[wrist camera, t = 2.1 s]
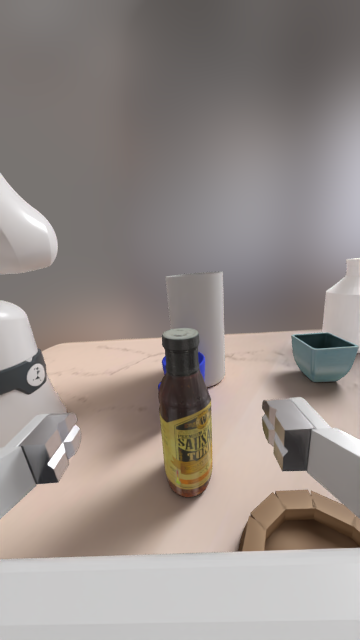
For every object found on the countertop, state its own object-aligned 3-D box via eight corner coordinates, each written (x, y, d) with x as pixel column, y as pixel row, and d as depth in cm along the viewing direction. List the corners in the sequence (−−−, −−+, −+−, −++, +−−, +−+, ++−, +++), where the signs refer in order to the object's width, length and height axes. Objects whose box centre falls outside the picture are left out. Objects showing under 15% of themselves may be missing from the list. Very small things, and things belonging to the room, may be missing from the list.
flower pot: (287, 367, 48) (290, 334, 45) (324, 365, 47) (328, 331, 45) (309, 388, 39) (313, 349, 37) (353, 386, 39) (360, 346, 36)
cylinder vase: (233, 384, 43) (232, 272, 36) (179, 393, 41) (167, 278, 35) (215, 359, 55) (212, 271, 48) (173, 366, 53) (164, 276, 47)
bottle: (318, 336, 65) (326, 260, 58) (364, 340, 59) (380, 256, 52) (322, 349, 55) (333, 260, 48) (379, 356, 49) (400, 255, 43)
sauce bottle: (186, 515, 21) (168, 352, 16) (157, 471, 26) (135, 335, 21) (224, 473, 25) (220, 331, 20) (192, 442, 30) (182, 321, 24)
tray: (296, 969, 7) (301, 967, 7) (221, 503, 22) (220, 488, 21) (729, 998, 7) (781, 998, 6) (355, 498, 21) (359, 482, 20)
